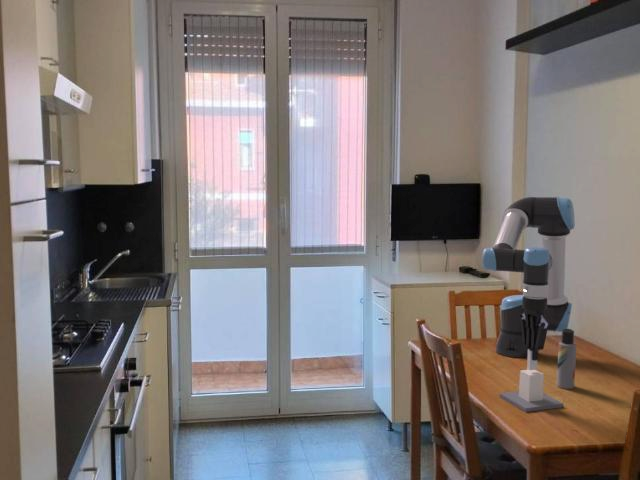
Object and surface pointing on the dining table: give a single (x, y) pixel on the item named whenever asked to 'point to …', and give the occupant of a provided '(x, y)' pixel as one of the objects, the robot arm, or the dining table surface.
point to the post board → (531, 406)
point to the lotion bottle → (566, 360)
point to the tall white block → (531, 385)
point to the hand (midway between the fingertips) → (532, 369)
